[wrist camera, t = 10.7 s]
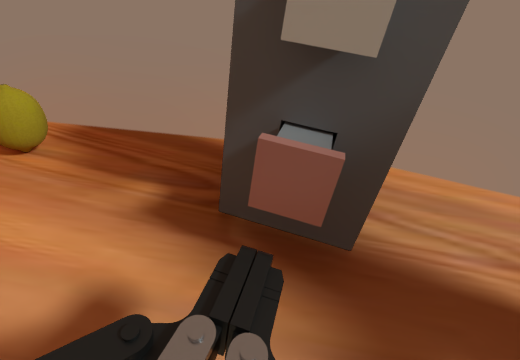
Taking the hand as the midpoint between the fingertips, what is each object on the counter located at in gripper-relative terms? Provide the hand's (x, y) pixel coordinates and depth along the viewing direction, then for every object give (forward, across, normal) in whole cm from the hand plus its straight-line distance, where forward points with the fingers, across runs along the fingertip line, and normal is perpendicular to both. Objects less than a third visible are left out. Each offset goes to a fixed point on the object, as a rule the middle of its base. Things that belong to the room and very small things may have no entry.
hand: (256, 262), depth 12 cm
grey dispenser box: (+19, 0, -9) cm, 20 cm away
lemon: (+13, -32, -9) cm, 35 cm away
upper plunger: (+13, 0, +9) cm, 16 cm away
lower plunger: (+12, 0, -2) cm, 12 cm away
